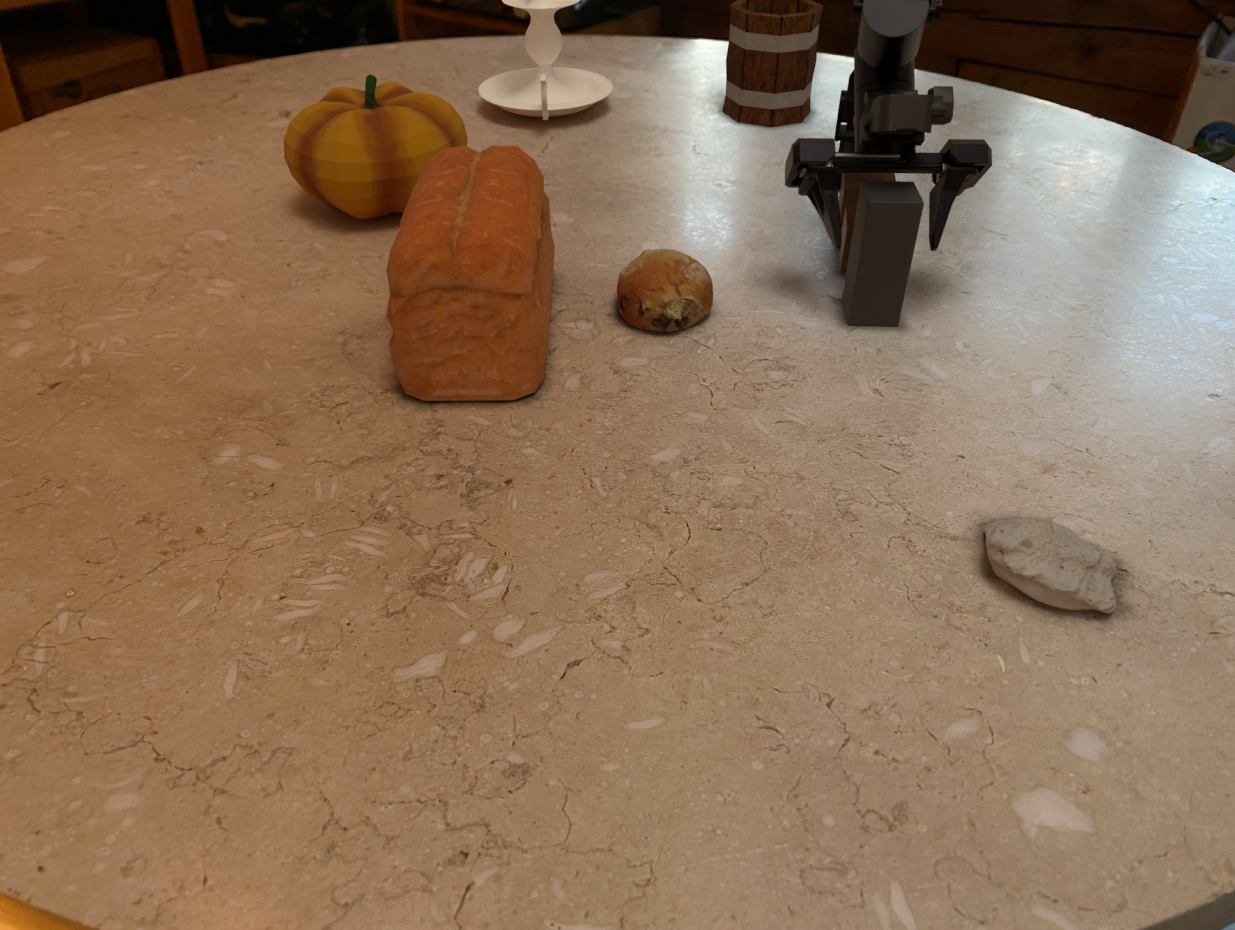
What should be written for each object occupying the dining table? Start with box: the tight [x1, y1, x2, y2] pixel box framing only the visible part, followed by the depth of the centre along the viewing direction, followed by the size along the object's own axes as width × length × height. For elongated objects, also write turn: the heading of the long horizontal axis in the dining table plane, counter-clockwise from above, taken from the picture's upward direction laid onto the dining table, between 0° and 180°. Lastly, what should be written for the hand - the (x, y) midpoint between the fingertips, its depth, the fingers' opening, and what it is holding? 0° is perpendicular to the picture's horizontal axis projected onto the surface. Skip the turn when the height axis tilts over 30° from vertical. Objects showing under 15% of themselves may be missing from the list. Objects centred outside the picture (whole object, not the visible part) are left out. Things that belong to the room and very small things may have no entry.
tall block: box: [840, 180, 925, 327], centre depth 92 cm, size 5×5×13 cm
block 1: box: [838, 208, 857, 274], centre depth 103 cm, size 6×6×5 cm
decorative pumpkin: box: [283, 74, 468, 220], centre depth 114 cm, size 20×22×15 cm
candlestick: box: [477, 0, 614, 121], centre depth 135 cm, size 21×25×28 cm
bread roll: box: [616, 248, 714, 333], centre depth 95 cm, size 10×10×8 cm
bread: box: [385, 145, 556, 402], centre depth 89 cm, size 14×27×15 cm, turn 1°
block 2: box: [838, 173, 897, 228], centre depth 112 cm, size 6×6×5 cm
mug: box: [722, 0, 824, 128], centre depth 142 cm, size 20×14×15 cm
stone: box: [983, 517, 1118, 614], centre depth 66 cm, size 10×5×10 cm
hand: (886, 249), depth 90 cm, fingers open, 9 cm apart
